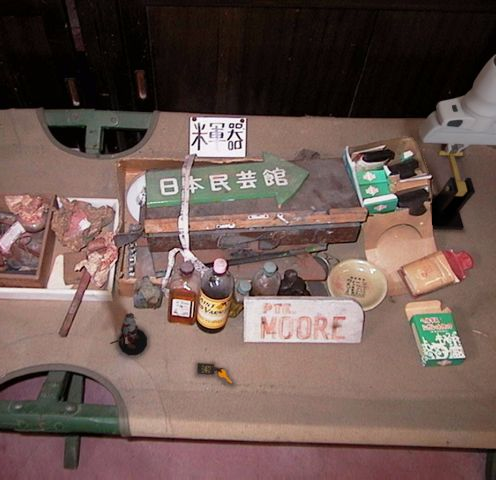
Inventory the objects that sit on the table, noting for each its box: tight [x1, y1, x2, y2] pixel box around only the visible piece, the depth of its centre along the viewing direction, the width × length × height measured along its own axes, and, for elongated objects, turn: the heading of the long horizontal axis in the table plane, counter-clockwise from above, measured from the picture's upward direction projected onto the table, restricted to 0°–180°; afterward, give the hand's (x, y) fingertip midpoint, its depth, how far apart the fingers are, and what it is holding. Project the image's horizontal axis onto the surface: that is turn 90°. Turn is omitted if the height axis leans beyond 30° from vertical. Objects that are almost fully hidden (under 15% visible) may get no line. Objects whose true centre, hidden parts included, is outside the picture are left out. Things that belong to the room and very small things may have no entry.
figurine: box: [109, 312, 148, 356], centre depth 115 cm, size 7×7×15 cm
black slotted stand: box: [431, 176, 476, 231], centre depth 134 cm, size 10×9×13 cm
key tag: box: [197, 363, 233, 384], centre depth 117 cm, size 8×3×1 cm, turn 73°
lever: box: [437, 150, 467, 196], centre depth 133 cm, size 13×6×2 cm, turn 177°
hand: (451, 151), depth 135 cm, fingers closed, pressing on lever
